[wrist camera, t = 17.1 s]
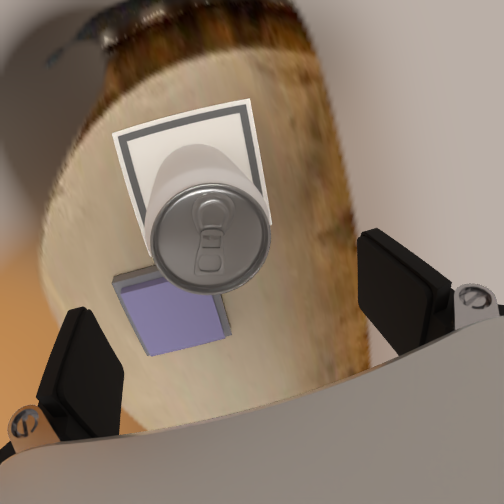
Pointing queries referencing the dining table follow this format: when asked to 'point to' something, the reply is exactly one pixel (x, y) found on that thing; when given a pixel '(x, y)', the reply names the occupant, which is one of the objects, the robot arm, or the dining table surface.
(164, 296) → the ink pad
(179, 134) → the marked card
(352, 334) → the dining table surface
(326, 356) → the dining table surface
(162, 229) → the can
